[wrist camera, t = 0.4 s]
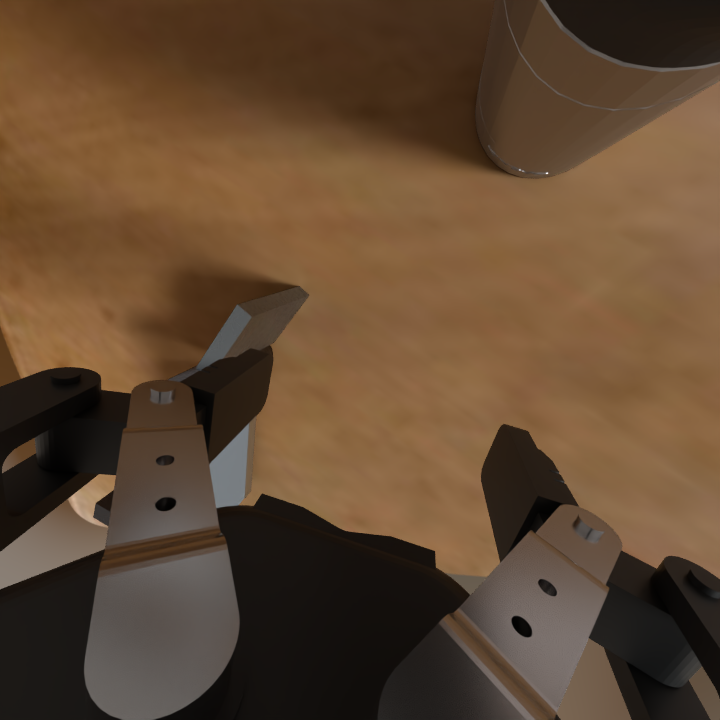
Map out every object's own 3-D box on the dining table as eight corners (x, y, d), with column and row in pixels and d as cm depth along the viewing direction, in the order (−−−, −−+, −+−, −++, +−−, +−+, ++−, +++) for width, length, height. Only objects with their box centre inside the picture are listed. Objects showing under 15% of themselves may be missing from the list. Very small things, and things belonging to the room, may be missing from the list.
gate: (245, 372, 35) (179, 415, 26) (258, 376, 35) (196, 420, 26) (239, 487, 40) (182, 553, 31) (251, 490, 39) (196, 559, 31)
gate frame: (293, 280, 32) (209, 301, 21) (318, 303, 32) (248, 336, 21) (158, 460, 43) (56, 536, 32) (177, 476, 43) (82, 558, 32)
